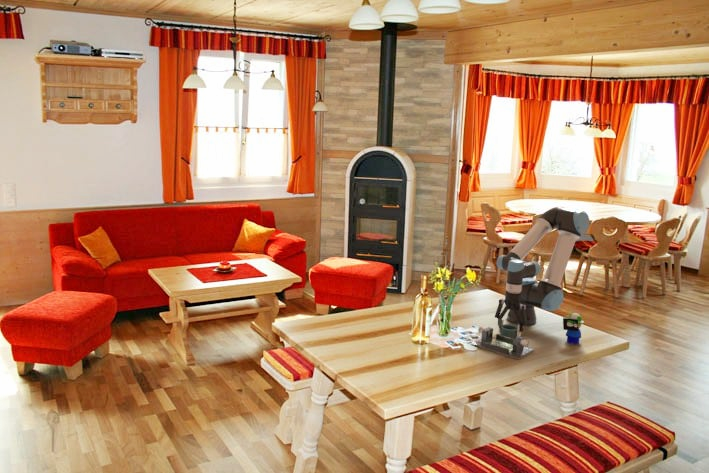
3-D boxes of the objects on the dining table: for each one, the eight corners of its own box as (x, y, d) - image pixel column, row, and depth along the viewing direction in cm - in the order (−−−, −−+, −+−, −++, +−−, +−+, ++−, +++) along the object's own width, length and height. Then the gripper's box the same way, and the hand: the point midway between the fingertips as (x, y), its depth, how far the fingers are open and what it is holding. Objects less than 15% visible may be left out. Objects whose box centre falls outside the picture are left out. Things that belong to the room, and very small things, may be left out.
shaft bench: (486, 336, 307) (488, 323, 306) (533, 351, 291) (535, 337, 289) (470, 344, 296) (471, 330, 295) (518, 359, 280) (519, 345, 278)
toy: (559, 342, 304) (562, 313, 301) (567, 337, 311) (570, 309, 308) (576, 347, 298) (580, 317, 295) (584, 342, 305) (588, 313, 302)
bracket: (521, 338, 307) (523, 321, 305) (508, 341, 302) (509, 323, 301) (508, 332, 314) (509, 315, 313) (494, 335, 310) (496, 318, 308)
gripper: (489, 287, 308) (486, 330, 313) (530, 298, 294) (526, 342, 298) (497, 285, 314) (493, 327, 318) (538, 295, 299) (533, 339, 304)
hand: (509, 334), depth 308 cm, fingers closed on bracket, 9 cm apart
